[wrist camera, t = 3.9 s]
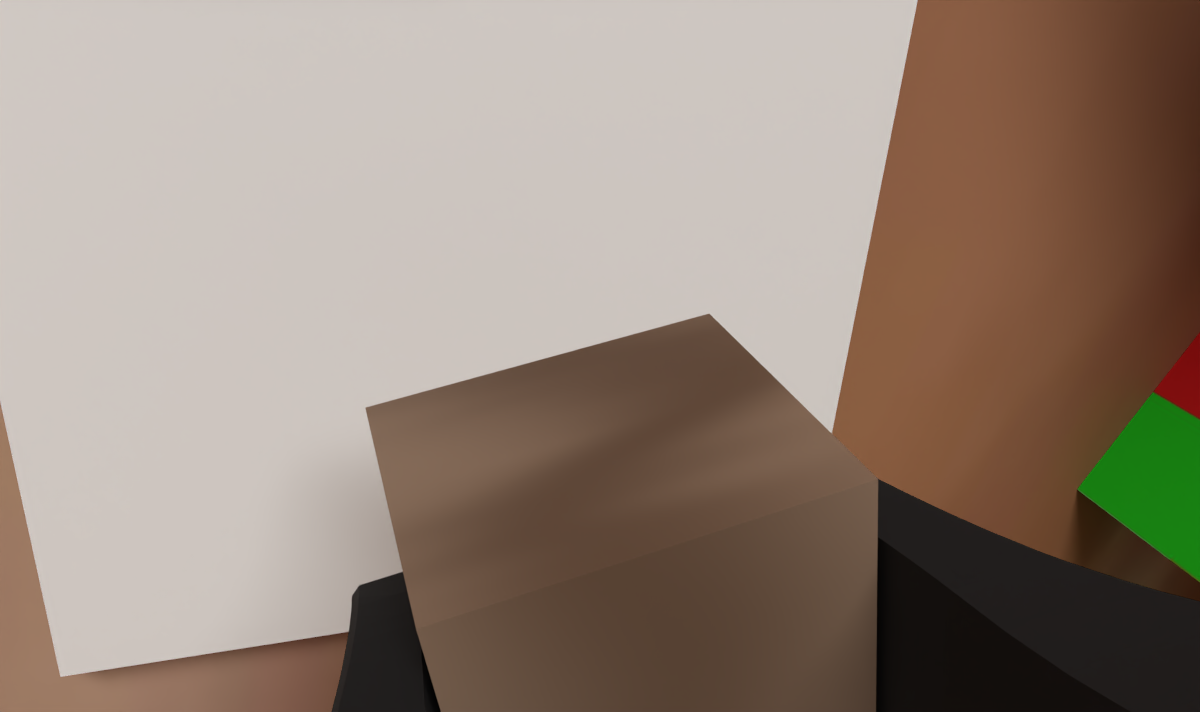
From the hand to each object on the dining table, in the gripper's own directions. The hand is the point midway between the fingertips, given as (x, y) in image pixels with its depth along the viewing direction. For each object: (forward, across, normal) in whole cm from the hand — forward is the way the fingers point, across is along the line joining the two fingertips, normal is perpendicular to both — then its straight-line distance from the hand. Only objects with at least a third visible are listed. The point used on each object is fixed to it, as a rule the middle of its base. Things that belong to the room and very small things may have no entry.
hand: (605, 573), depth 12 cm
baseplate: (+8, 0, 0) cm, 8 cm away
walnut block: (+2, 0, 0) cm, 2 cm away
